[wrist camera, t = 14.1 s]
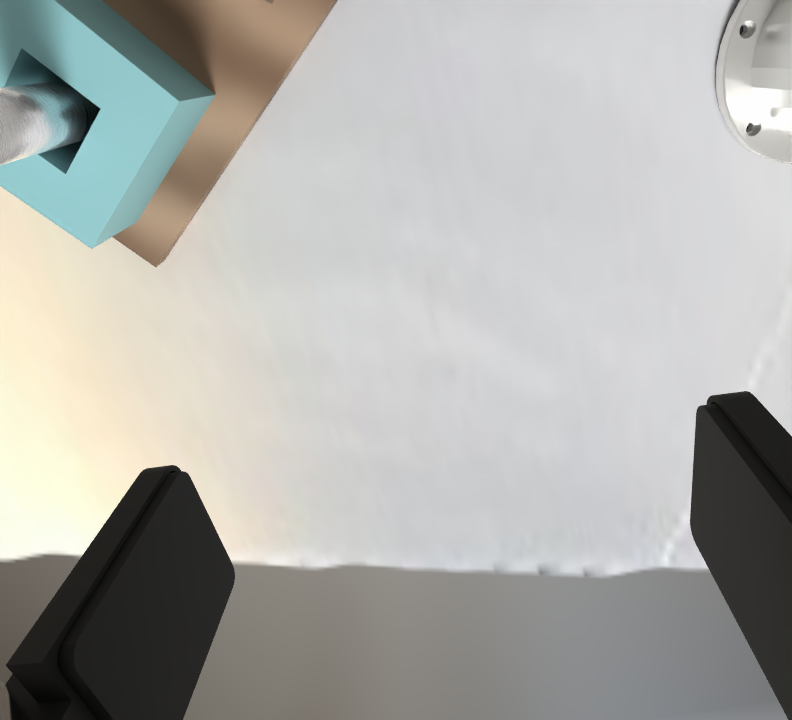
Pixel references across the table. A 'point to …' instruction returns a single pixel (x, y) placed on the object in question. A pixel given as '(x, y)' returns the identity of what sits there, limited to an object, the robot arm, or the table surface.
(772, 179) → the table surface
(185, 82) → the teal socket
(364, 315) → the table surface
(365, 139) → the table surface
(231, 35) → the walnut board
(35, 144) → the lock pin
